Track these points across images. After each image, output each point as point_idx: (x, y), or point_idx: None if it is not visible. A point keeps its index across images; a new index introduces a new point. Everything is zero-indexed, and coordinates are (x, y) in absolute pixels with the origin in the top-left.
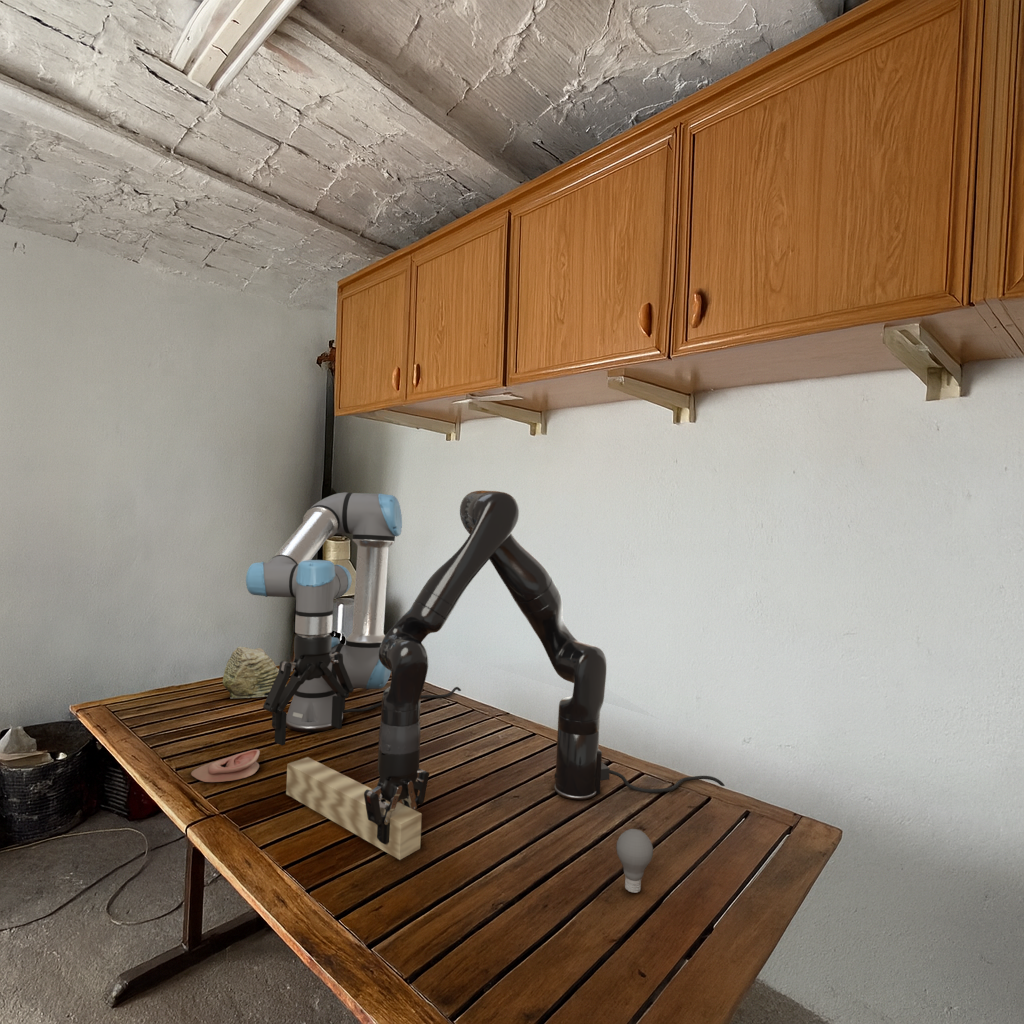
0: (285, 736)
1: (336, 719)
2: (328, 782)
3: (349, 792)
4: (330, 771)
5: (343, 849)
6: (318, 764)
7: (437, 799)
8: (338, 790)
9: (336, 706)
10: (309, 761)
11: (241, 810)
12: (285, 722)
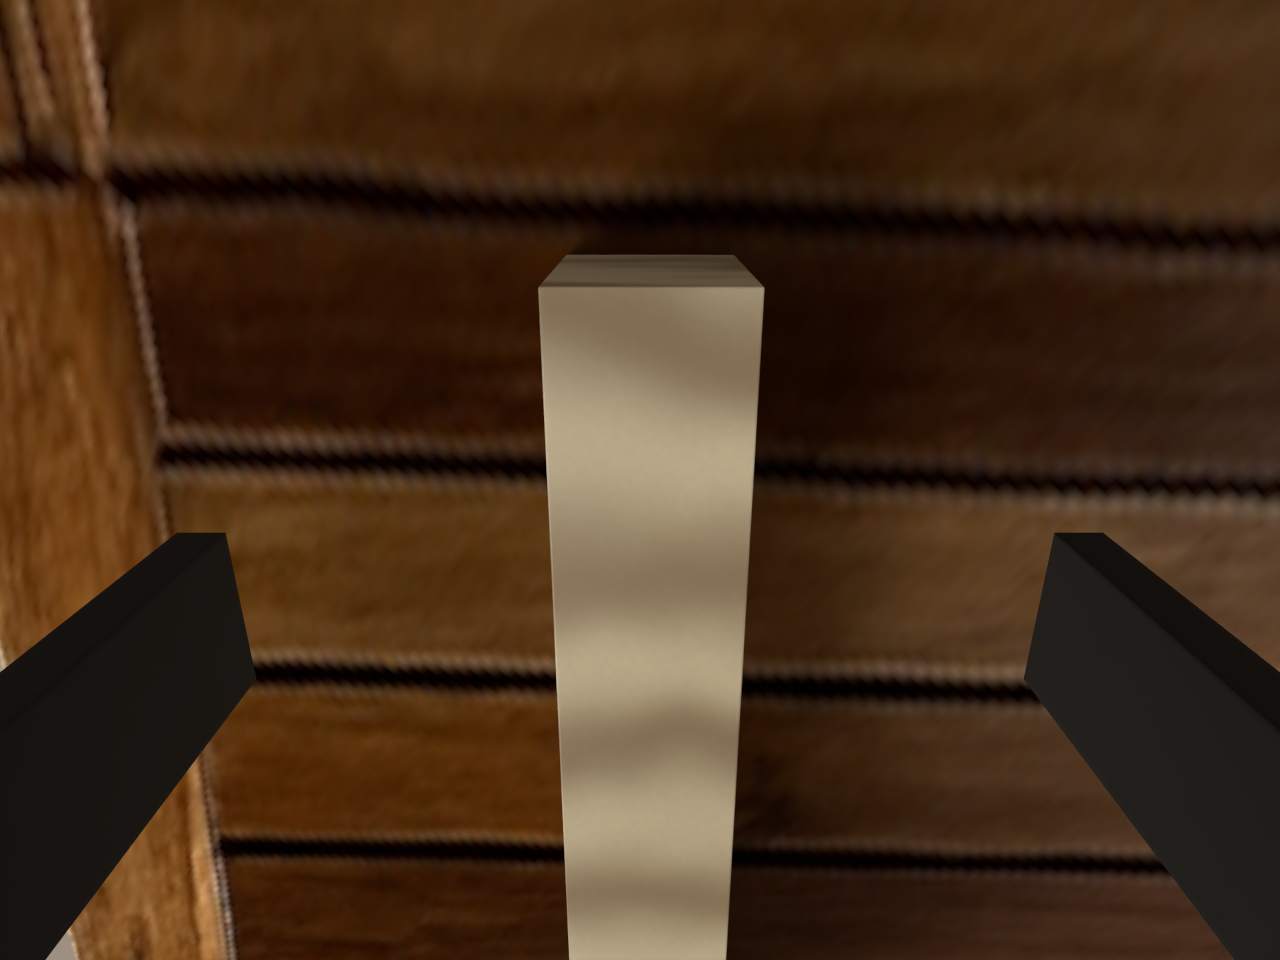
0: (206, 742)
1: (1093, 699)
2: (589, 769)
3: (600, 935)
4: (708, 652)
5: (478, 896)
6: (726, 491)
7: (1088, 875)
8: (567, 884)
9: (1234, 845)
10: (711, 385)
11: (236, 247)
12: (65, 916)
